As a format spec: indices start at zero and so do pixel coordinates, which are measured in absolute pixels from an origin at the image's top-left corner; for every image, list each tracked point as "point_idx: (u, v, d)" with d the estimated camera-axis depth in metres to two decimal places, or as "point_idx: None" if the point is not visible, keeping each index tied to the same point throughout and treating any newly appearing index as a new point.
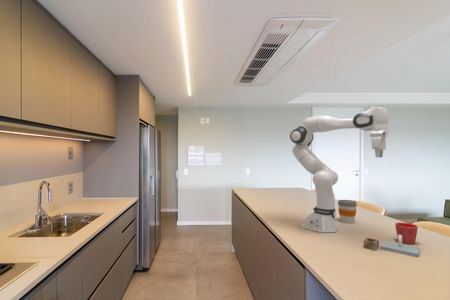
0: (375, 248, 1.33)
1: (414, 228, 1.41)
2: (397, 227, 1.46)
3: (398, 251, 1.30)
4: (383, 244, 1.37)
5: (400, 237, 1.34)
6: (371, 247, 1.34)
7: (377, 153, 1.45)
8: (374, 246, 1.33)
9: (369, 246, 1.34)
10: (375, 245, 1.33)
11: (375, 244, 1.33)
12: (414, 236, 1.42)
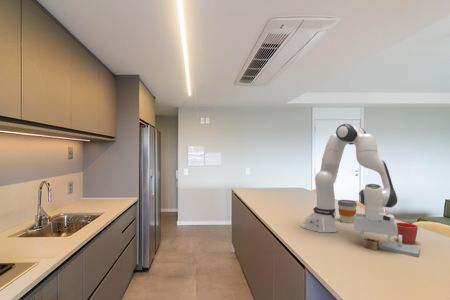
0: (375, 248, 1.33)
1: (414, 228, 1.41)
2: None
3: (398, 251, 1.30)
4: (383, 244, 1.37)
5: (400, 237, 1.34)
6: (371, 247, 1.34)
7: None
8: (374, 246, 1.33)
9: (369, 247, 1.35)
10: (375, 245, 1.33)
11: (375, 244, 1.33)
12: (414, 236, 1.42)
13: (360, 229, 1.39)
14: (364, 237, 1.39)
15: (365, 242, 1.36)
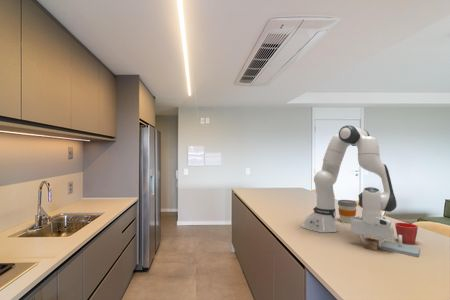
0: (375, 248, 1.33)
1: (414, 228, 1.41)
2: (397, 227, 1.46)
3: (398, 251, 1.30)
4: (383, 244, 1.37)
5: (400, 237, 1.34)
6: (371, 247, 1.34)
7: (381, 242, 1.34)
8: (374, 246, 1.33)
9: (369, 246, 1.34)
10: (375, 245, 1.33)
11: (375, 244, 1.33)
12: (414, 236, 1.42)
13: (357, 231, 1.40)
14: (363, 240, 1.38)
15: (365, 242, 1.36)
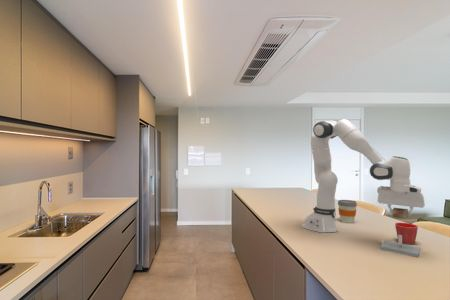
0: (405, 217, 1.30)
1: (414, 228, 1.41)
2: (397, 227, 1.46)
3: (398, 251, 1.30)
4: (383, 244, 1.37)
5: (400, 237, 1.34)
6: (401, 216, 1.31)
7: (411, 210, 1.31)
8: (404, 215, 1.31)
9: (398, 215, 1.32)
10: (405, 213, 1.30)
11: (405, 212, 1.30)
12: (414, 236, 1.42)
13: (385, 201, 1.37)
14: (392, 210, 1.36)
15: (394, 211, 1.33)
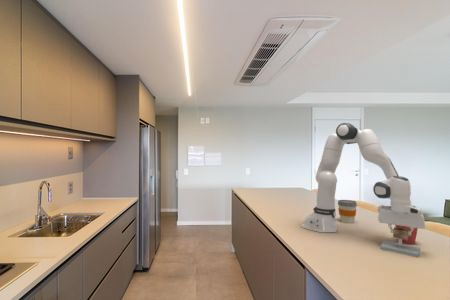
0: (406, 237, 1.30)
1: (414, 228, 1.41)
2: None
3: (398, 251, 1.30)
4: (383, 244, 1.37)
5: None
6: (401, 236, 1.31)
7: None
8: (404, 235, 1.31)
9: (399, 235, 1.32)
10: (405, 234, 1.30)
11: (405, 233, 1.30)
12: (414, 236, 1.42)
13: (385, 221, 1.37)
14: (392, 230, 1.36)
15: (395, 231, 1.33)
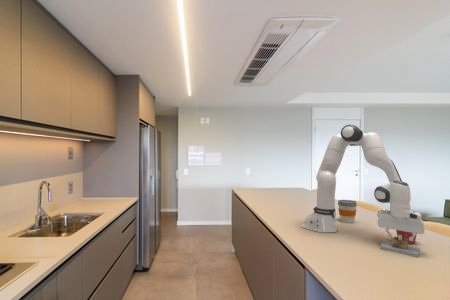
0: (405, 247, 1.30)
1: None
2: None
3: (398, 251, 1.30)
4: (383, 244, 1.37)
5: (400, 237, 1.34)
6: (400, 246, 1.31)
7: (413, 236, 1.31)
8: (403, 245, 1.30)
9: (398, 245, 1.32)
10: (405, 244, 1.30)
11: (405, 243, 1.30)
12: (414, 236, 1.42)
13: (385, 225, 1.37)
14: (389, 234, 1.37)
15: (394, 240, 1.33)
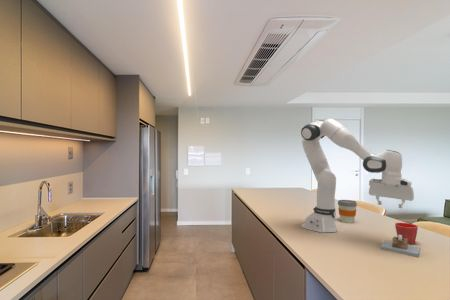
0: (405, 247, 1.30)
1: (414, 228, 1.41)
2: (397, 227, 1.46)
3: (398, 251, 1.30)
4: (383, 244, 1.37)
5: (400, 237, 1.34)
6: (400, 246, 1.31)
7: (403, 203, 1.34)
8: (403, 245, 1.30)
9: (398, 245, 1.32)
10: (405, 244, 1.30)
11: (405, 243, 1.30)
12: (414, 236, 1.42)
13: (375, 193, 1.40)
14: (379, 202, 1.40)
15: (394, 240, 1.33)
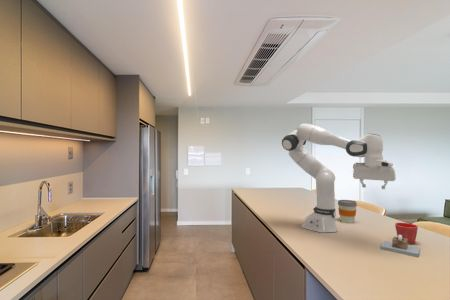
0: (405, 247, 1.30)
1: (414, 228, 1.41)
2: (397, 227, 1.46)
3: (398, 251, 1.30)
4: (383, 244, 1.37)
5: (400, 237, 1.34)
6: (400, 246, 1.31)
7: (385, 184, 1.37)
8: (403, 245, 1.30)
9: (398, 245, 1.32)
10: (405, 244, 1.30)
11: (405, 243, 1.30)
12: (414, 236, 1.42)
13: (359, 176, 1.44)
14: (363, 185, 1.43)
15: (394, 240, 1.33)
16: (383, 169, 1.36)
